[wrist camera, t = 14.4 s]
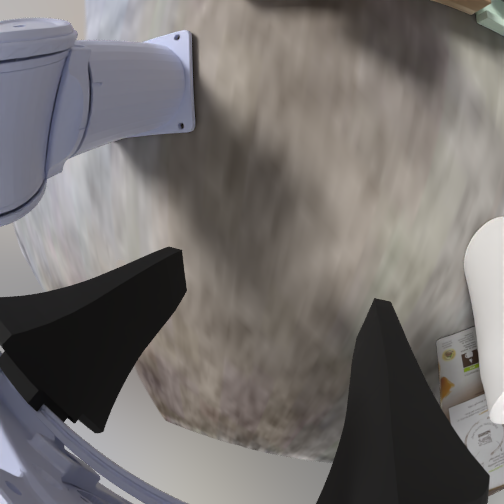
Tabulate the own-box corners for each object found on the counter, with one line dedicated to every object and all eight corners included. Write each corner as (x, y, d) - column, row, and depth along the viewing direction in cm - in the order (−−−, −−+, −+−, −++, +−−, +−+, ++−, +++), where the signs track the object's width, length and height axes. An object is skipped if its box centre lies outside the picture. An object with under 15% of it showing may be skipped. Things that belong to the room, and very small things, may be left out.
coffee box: (433, 339, 20) (433, 507, 8) (490, 318, 17) (518, 480, 4) (439, 384, 23) (433, 512, 10) (486, 369, 20) (494, 495, 7)
